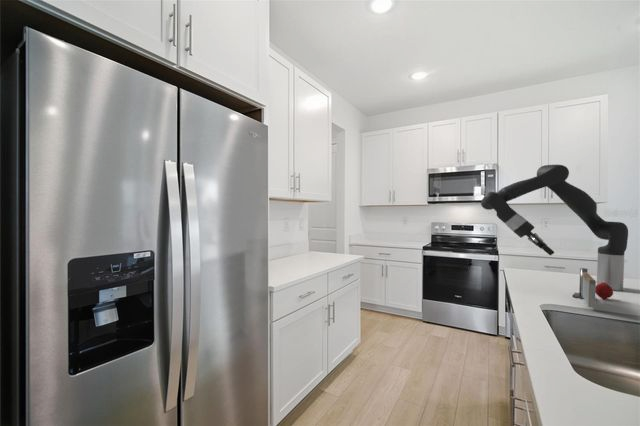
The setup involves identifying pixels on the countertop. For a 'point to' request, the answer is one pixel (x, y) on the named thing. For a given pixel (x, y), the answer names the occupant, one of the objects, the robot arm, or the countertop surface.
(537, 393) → the countertop surface
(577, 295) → the post
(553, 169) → the robot arm
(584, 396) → the countertop surface
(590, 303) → the wooden picture frame
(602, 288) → the onion
